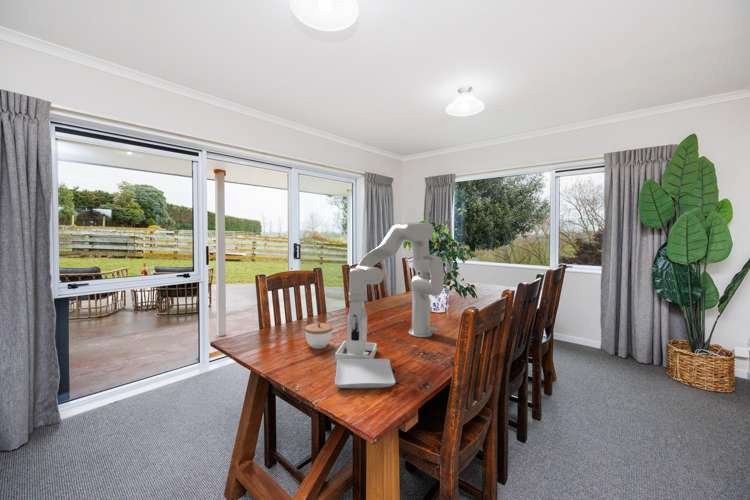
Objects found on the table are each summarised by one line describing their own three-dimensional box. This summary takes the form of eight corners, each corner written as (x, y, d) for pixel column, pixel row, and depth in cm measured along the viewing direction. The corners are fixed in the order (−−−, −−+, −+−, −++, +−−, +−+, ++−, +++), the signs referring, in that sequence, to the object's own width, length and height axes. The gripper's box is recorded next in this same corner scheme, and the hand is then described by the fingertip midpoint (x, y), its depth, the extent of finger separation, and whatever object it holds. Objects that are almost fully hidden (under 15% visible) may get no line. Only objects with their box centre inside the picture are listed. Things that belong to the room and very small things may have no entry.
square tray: (376, 350, 147) (376, 343, 146) (370, 364, 132) (371, 356, 131) (344, 348, 149) (344, 340, 149) (335, 361, 134) (335, 353, 134)
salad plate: (337, 366, 130) (337, 358, 130) (389, 365, 132) (389, 357, 132) (334, 393, 109) (334, 383, 109) (396, 392, 111) (396, 382, 110)
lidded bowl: (336, 348, 149) (336, 324, 148) (310, 353, 143) (310, 328, 142) (326, 339, 160) (326, 317, 159) (301, 343, 153) (301, 321, 153)
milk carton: (362, 354, 136) (363, 310, 135) (346, 353, 137) (347, 309, 136) (366, 348, 143) (367, 306, 142) (351, 347, 144) (351, 305, 143)
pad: (368, 352, 144) (368, 352, 144) (364, 361, 135) (364, 360, 135) (349, 351, 145) (349, 350, 145) (344, 359, 136) (344, 358, 136)
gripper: (353, 292, 148) (353, 330, 149) (344, 300, 130) (343, 343, 132) (369, 293, 146) (369, 331, 148) (362, 301, 129) (361, 345, 131)
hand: (357, 336), depth 140 cm, fingers closed on milk carton, 7 cm apart
